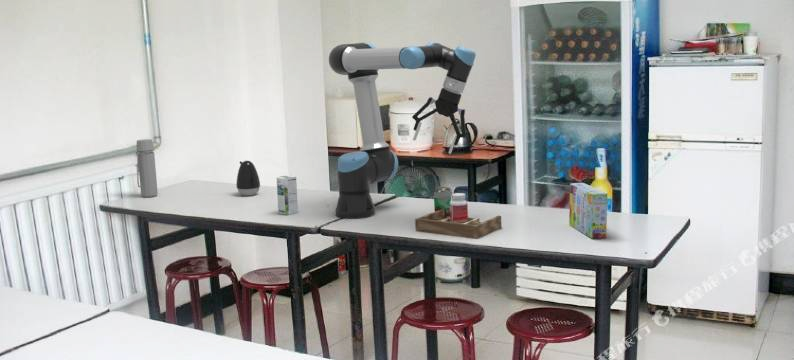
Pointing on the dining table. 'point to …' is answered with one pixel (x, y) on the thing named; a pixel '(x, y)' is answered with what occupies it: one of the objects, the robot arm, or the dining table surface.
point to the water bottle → (146, 168)
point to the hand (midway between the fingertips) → (431, 146)
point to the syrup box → (287, 195)
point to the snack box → (588, 210)
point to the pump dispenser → (247, 179)
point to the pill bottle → (458, 208)
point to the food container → (443, 200)
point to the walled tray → (456, 225)
